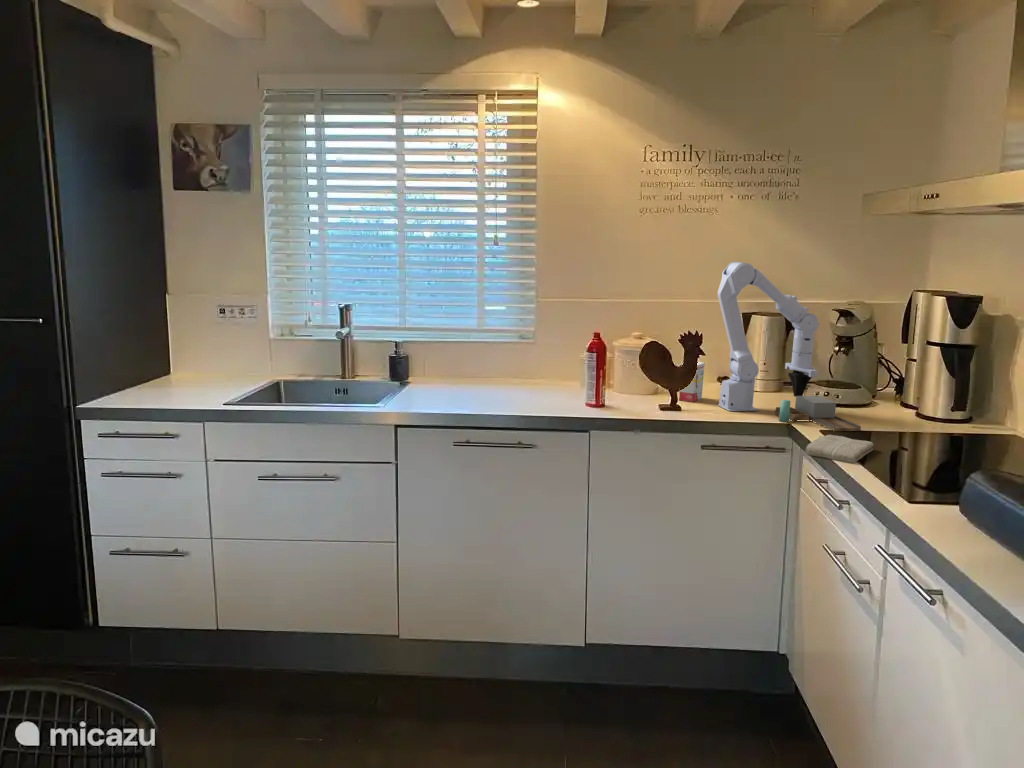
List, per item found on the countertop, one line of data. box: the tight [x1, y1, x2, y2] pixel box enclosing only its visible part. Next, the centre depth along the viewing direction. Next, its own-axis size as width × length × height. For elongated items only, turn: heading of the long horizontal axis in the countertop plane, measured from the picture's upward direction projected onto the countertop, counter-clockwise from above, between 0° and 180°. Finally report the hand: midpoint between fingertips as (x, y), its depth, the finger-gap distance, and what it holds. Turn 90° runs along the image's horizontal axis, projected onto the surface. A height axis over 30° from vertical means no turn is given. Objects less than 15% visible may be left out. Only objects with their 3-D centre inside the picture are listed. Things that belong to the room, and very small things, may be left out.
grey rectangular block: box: [794, 395, 837, 418], centre depth 238 cm, size 7×10×4 cm
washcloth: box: [804, 434, 874, 464], centre depth 200 cm, size 12×18×3 cm, turn 143°
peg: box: [778, 399, 792, 423], centre depth 232 cm, size 3×3×6 cm
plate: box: [809, 415, 862, 432], centre depth 233 cm, size 8×22×3 cm, turn 11°
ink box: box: [678, 361, 706, 403], centre depth 258 cm, size 9×5×12 cm, turn 147°
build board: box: [774, 406, 810, 422], centre depth 237 cm, size 5×10×2 cm, turn 11°
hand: (797, 396), depth 247 cm, fingers closed
